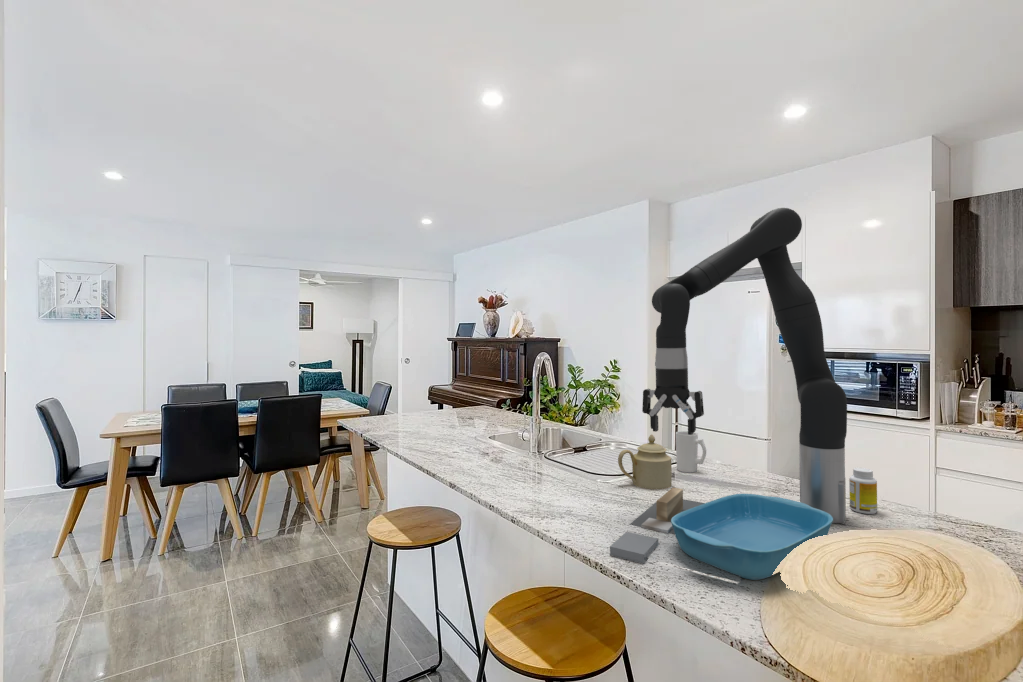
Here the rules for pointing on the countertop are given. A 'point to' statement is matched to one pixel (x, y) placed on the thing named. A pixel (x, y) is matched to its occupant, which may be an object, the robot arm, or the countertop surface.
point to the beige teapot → (649, 466)
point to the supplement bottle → (863, 491)
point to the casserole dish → (748, 532)
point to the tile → (634, 547)
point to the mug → (688, 451)
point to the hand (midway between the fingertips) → (672, 432)
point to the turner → (666, 511)
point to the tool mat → (652, 513)
